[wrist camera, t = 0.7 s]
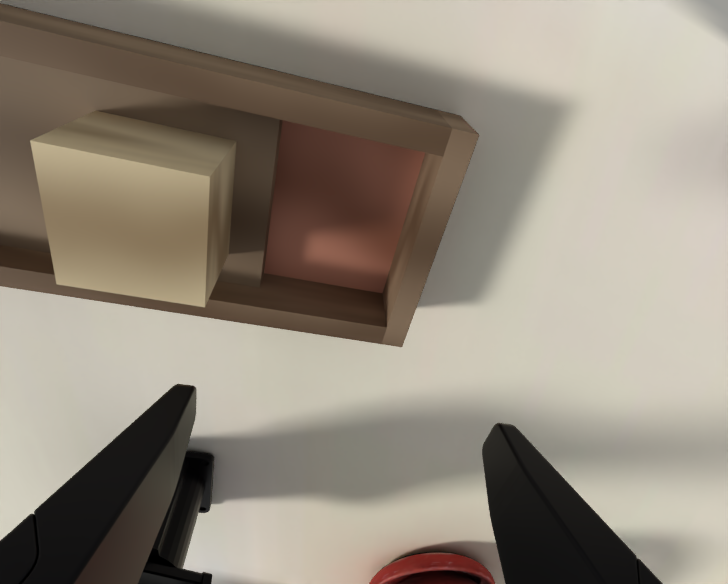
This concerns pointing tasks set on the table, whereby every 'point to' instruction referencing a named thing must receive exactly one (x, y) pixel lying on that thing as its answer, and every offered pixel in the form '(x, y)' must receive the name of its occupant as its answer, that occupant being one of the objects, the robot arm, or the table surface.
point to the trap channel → (246, 175)
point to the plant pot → (434, 570)
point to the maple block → (136, 206)
